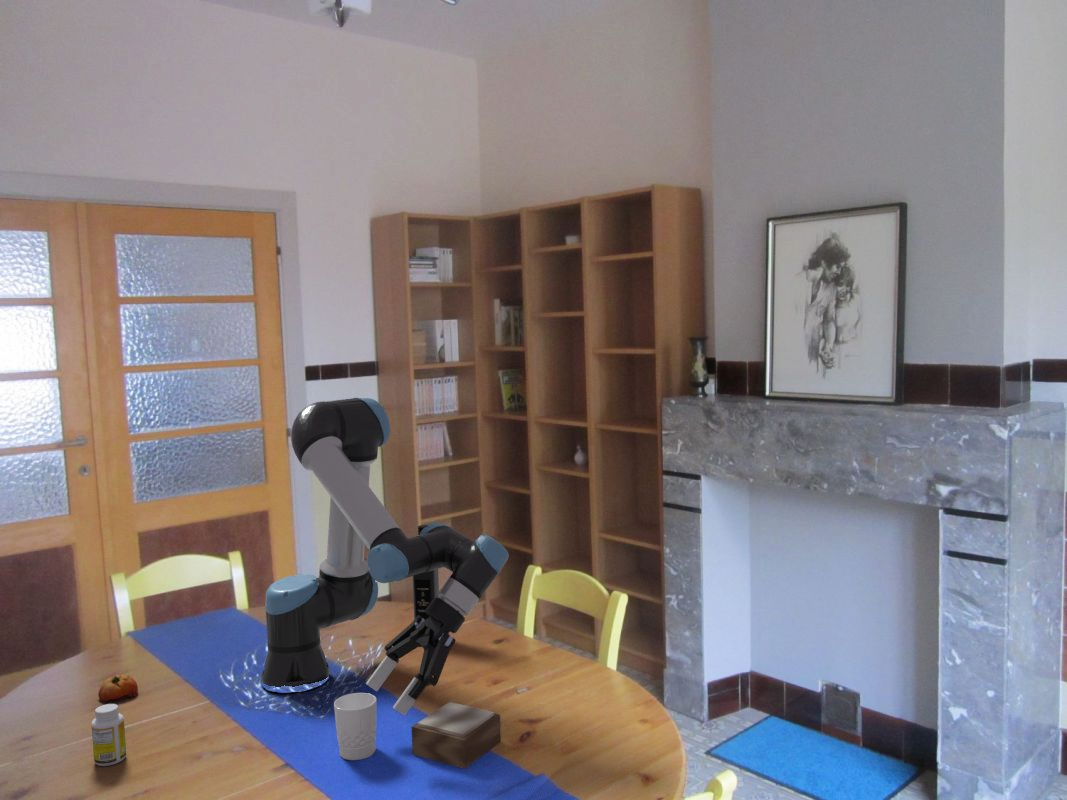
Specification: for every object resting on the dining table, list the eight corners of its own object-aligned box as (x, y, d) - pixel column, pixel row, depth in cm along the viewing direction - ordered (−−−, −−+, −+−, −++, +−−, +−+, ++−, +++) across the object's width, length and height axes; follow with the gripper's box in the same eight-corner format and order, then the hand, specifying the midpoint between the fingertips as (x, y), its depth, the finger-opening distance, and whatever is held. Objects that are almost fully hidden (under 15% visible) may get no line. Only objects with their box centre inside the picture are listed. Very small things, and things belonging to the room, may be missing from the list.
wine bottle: (435, 646, 224) (431, 528, 222) (414, 645, 225) (409, 528, 223) (441, 638, 230) (437, 523, 228) (420, 637, 231) (416, 523, 229)
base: (412, 754, 168) (411, 723, 167) (449, 728, 178) (448, 699, 177) (465, 769, 162) (464, 737, 161) (500, 741, 172) (499, 711, 171)
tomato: (86, 693, 197) (107, 663, 200) (108, 704, 202) (128, 674, 205) (107, 706, 193) (128, 675, 196) (129, 717, 198) (149, 686, 201)
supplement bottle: (118, 750, 173) (114, 699, 172) (131, 758, 169) (128, 706, 168) (88, 761, 168) (85, 709, 168) (102, 770, 165) (98, 717, 164)
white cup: (369, 763, 165) (366, 711, 164) (329, 760, 166) (326, 708, 165) (384, 744, 172) (382, 693, 171) (346, 741, 174) (344, 691, 173)
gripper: (494, 633, 167) (425, 732, 161) (437, 601, 189) (373, 688, 182) (467, 612, 164) (396, 712, 158) (412, 581, 185) (347, 668, 179)
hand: (384, 699), depth 170 cm, fingers open, 13 cm apart
